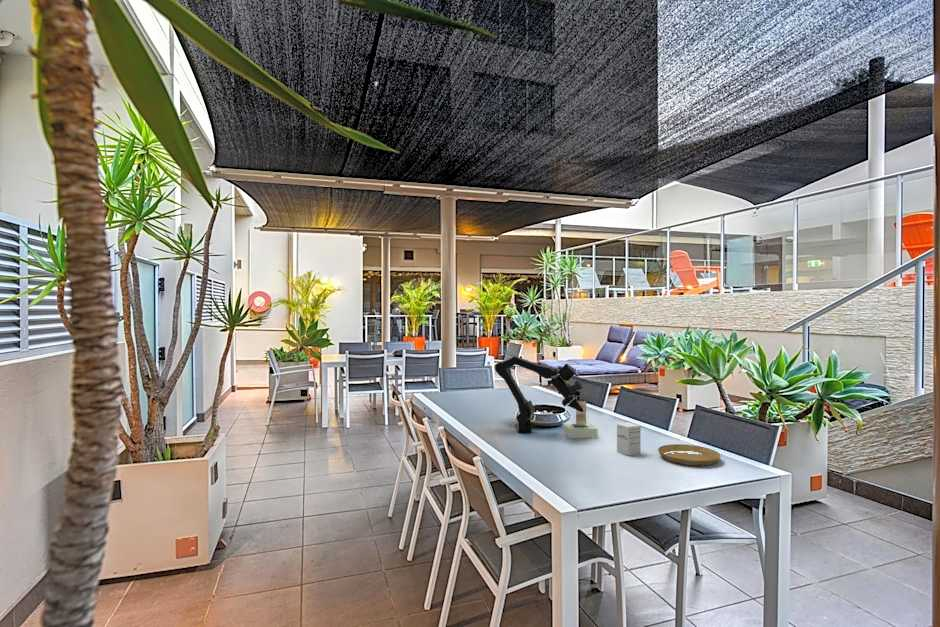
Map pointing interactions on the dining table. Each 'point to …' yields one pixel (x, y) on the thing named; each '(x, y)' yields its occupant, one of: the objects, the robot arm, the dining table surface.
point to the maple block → (581, 414)
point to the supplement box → (628, 438)
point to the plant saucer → (689, 459)
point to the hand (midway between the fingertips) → (583, 410)
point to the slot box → (580, 430)
